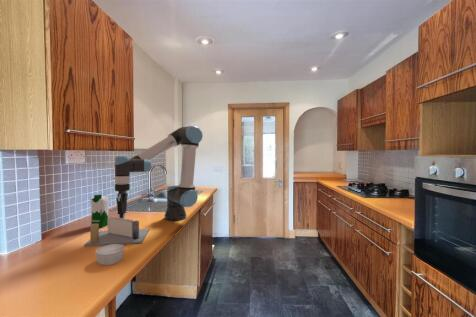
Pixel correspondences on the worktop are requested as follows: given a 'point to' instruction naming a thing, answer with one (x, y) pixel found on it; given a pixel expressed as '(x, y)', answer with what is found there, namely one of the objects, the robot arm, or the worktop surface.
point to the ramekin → (109, 254)
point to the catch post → (94, 233)
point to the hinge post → (135, 229)
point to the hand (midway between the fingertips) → (122, 225)
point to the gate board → (118, 238)
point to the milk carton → (99, 210)
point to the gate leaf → (120, 226)
